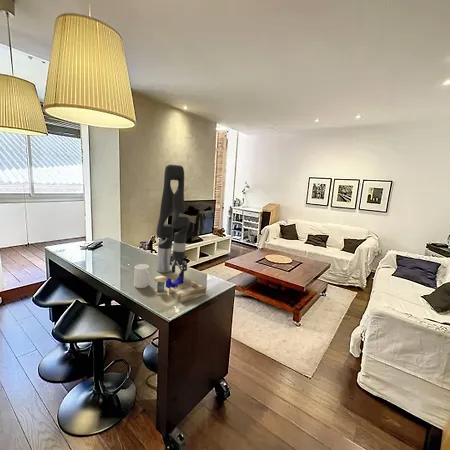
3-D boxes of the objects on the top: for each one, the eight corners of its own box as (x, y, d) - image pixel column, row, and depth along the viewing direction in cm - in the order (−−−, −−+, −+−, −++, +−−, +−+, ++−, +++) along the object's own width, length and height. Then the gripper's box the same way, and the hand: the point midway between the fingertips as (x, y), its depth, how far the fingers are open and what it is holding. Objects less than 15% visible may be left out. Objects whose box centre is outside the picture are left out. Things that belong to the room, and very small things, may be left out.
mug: (154, 287, 151) (155, 268, 148) (141, 291, 144) (142, 271, 142) (143, 280, 158) (143, 262, 155) (130, 284, 151) (131, 265, 149)
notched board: (168, 294, 143) (168, 288, 143) (192, 286, 157) (193, 280, 156) (181, 303, 136) (181, 296, 135) (205, 294, 149) (206, 287, 148)
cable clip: (170, 289, 151) (171, 280, 150) (165, 286, 153) (166, 277, 152) (184, 283, 160) (185, 275, 159) (180, 281, 163) (180, 272, 162)
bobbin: (151, 291, 145) (152, 277, 143) (162, 288, 150) (163, 275, 149) (158, 296, 140) (159, 281, 139) (169, 292, 146) (169, 279, 144)
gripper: (167, 247, 154) (165, 272, 156) (181, 253, 144) (179, 279, 147) (177, 245, 159) (175, 270, 162) (191, 251, 150) (189, 277, 152)
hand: (177, 274), depth 154 cm, fingers open, 8 cm apart
